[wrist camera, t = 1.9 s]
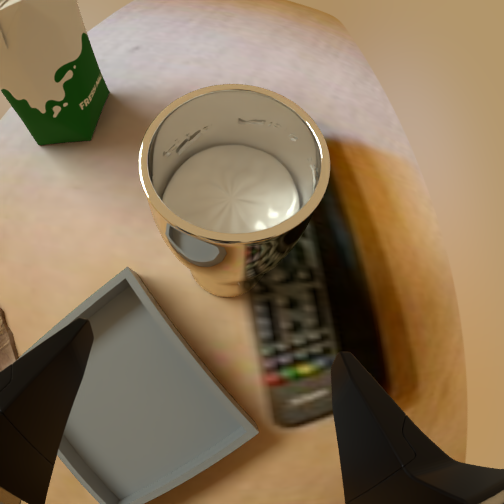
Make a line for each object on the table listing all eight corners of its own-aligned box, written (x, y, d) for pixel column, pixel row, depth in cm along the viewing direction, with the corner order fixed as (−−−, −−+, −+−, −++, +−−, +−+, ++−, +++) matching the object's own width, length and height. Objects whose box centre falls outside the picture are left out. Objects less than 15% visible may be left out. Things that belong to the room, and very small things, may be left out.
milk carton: (56, 95, 27) (-2, -30, 8) (120, 86, 28) (79, -65, 9) (30, 153, 25) (-63, 26, 6) (97, 148, 26) (15, -23, 7)
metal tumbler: (167, 275, 23) (92, 188, 9) (211, 203, 25) (203, 61, 11) (245, 319, 23) (284, 293, 9) (285, 242, 25) (359, 128, 10)
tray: (255, 423, 21) (259, 432, 18) (122, 504, 17) (114, 517, 15) (136, 273, 23) (127, 266, 21) (20, 369, 20) (4, 371, 17)
